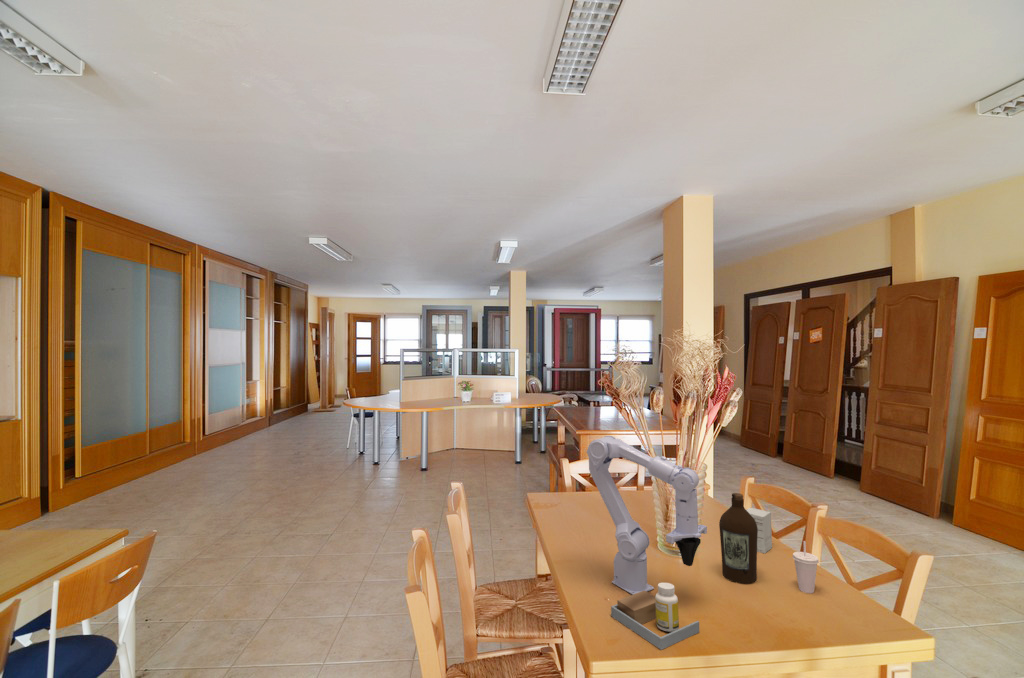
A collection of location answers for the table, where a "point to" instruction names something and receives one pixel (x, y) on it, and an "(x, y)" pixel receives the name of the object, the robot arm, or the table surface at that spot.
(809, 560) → the smoothie
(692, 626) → the grey bracket
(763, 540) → the supplement box
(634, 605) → the block
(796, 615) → the table surface
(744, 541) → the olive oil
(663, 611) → the supplement bottle
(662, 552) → the table surface
